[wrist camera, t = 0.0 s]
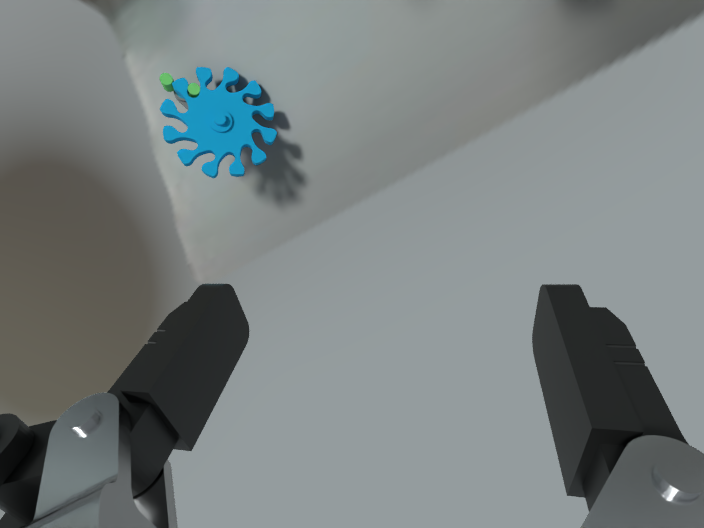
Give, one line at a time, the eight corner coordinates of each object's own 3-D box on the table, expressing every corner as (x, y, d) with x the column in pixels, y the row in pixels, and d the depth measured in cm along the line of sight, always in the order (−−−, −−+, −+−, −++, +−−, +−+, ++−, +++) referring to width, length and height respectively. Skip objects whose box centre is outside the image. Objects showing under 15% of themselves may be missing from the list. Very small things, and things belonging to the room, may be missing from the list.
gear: (300, 121, 36) (224, 198, 34) (294, 142, 42) (228, 209, 40) (205, 29, 34) (120, 106, 32) (212, 64, 40) (140, 131, 38)
